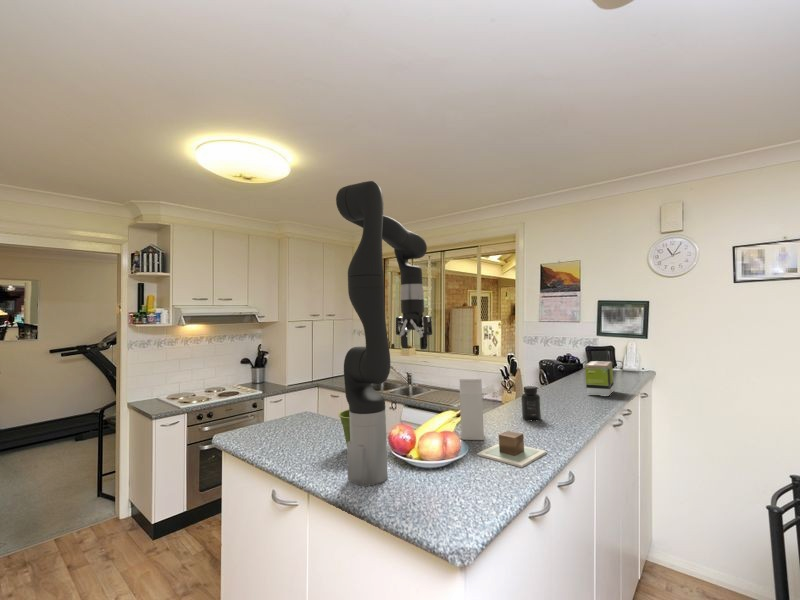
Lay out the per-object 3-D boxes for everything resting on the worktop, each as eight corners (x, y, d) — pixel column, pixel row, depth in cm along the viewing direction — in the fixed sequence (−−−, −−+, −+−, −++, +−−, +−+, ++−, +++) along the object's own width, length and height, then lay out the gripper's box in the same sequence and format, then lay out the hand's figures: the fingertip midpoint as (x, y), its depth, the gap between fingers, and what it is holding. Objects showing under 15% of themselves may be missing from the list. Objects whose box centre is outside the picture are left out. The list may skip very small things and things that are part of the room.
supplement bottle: (545, 419, 149) (543, 387, 150) (533, 422, 146) (532, 389, 146) (530, 415, 155) (528, 384, 155) (518, 418, 151) (517, 387, 152)
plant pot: (343, 443, 129) (342, 408, 130) (379, 442, 129) (378, 407, 130) (336, 456, 118) (334, 418, 118) (376, 455, 117) (374, 416, 118)
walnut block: (515, 456, 110) (514, 437, 111) (499, 452, 114) (498, 434, 114) (524, 451, 114) (523, 433, 114) (508, 447, 117) (507, 430, 118)
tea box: (592, 390, 200) (590, 360, 201) (614, 391, 194) (612, 361, 195) (586, 395, 188) (584, 364, 189) (609, 397, 182) (608, 365, 183)
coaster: (521, 467, 104) (521, 464, 104) (477, 455, 114) (477, 452, 114) (546, 453, 114) (546, 450, 114) (503, 443, 124) (503, 440, 124)
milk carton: (483, 440, 127) (481, 381, 128) (461, 440, 128) (459, 381, 129) (483, 434, 134) (481, 377, 135) (462, 433, 135) (460, 377, 136)
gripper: (388, 299, 132) (390, 348, 131) (420, 297, 121) (422, 350, 121) (405, 299, 137) (406, 347, 136) (436, 297, 126) (438, 348, 126)
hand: (414, 348), depth 128 cm, fingers open, 8 cm apart
